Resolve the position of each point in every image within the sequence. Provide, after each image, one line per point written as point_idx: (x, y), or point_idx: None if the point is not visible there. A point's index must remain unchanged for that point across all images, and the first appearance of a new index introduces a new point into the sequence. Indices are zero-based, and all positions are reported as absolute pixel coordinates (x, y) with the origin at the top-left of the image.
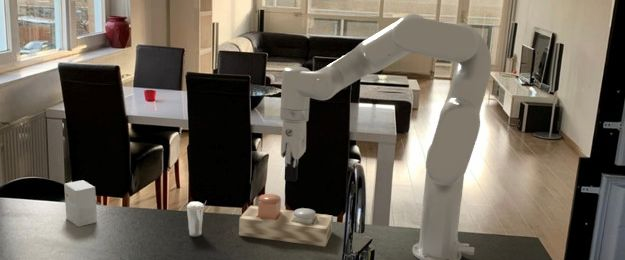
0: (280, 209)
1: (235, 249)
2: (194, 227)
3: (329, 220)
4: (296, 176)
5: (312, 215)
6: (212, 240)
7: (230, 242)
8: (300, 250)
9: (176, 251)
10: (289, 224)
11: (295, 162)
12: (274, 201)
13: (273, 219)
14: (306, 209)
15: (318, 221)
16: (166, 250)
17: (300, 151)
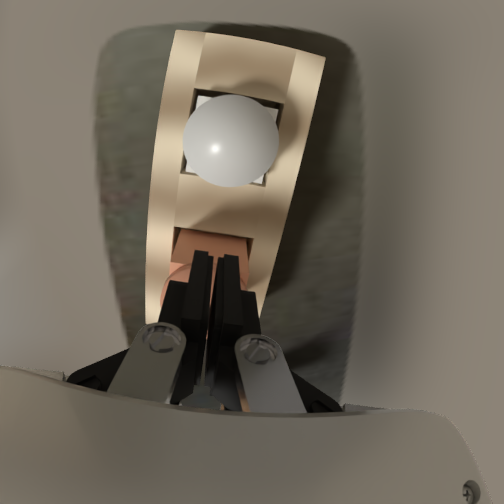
0: (178, 238)
1: (332, 298)
2: None
3: (233, 39)
4: (226, 269)
5: (263, 107)
6: (284, 345)
7: (294, 314)
8: (339, 140)
9: (333, 378)
10: (292, 192)
11: (273, 382)
12: (242, 286)
13: (251, 249)
14: (195, 136)
15: (250, 81)
16: (328, 388)
17: (402, 495)
